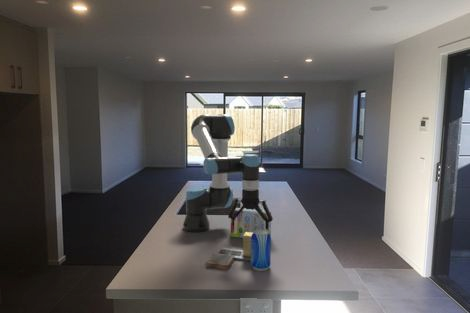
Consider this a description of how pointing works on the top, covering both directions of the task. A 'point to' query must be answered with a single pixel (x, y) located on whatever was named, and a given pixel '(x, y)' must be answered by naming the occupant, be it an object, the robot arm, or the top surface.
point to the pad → (220, 261)
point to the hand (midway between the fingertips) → (250, 234)
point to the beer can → (260, 249)
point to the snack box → (248, 222)
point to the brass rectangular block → (247, 244)
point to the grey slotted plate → (234, 254)
